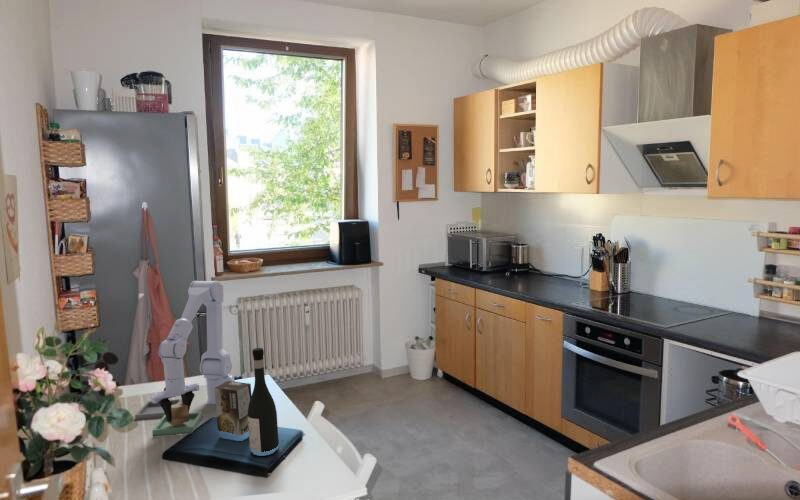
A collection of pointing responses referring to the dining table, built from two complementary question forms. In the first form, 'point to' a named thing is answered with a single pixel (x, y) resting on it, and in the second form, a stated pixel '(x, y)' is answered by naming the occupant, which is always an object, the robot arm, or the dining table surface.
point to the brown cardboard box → (179, 414)
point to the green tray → (177, 426)
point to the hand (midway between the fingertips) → (178, 418)
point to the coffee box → (232, 407)
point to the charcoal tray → (153, 410)
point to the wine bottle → (261, 410)
